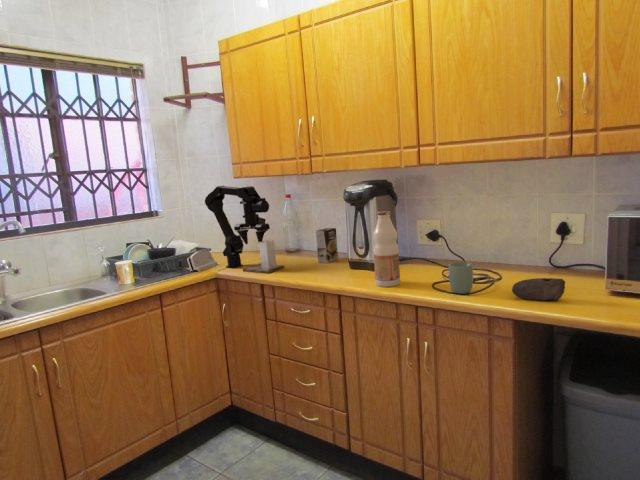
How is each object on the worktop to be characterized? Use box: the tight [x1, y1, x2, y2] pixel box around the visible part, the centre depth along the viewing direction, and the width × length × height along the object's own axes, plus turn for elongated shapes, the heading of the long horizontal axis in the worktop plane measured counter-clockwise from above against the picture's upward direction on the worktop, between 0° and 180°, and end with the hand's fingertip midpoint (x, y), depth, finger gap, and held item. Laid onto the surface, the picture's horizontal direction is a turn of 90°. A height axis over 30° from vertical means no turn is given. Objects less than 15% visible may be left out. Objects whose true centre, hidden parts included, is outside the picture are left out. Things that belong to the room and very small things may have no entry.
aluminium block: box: [258, 239, 277, 270], centre depth 212 cm, size 5×5×13 cm
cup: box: [448, 261, 474, 295], centre depth 153 cm, size 8×8×10 cm
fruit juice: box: [372, 210, 401, 288], centre depth 170 cm, size 9×9×28 cm
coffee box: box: [315, 227, 339, 264], centre depth 223 cm, size 9×6×16 cm
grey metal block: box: [186, 250, 219, 272], centre depth 232 cm, size 17×5×10 cm, turn 157°
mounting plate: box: [242, 263, 285, 275], centre depth 216 cm, size 16×12×1 cm
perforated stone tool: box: [511, 277, 566, 302], centre depth 140 cm, size 15×5×7 cm, turn 61°
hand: (253, 244), depth 219 cm, fingers open, 9 cm apart
